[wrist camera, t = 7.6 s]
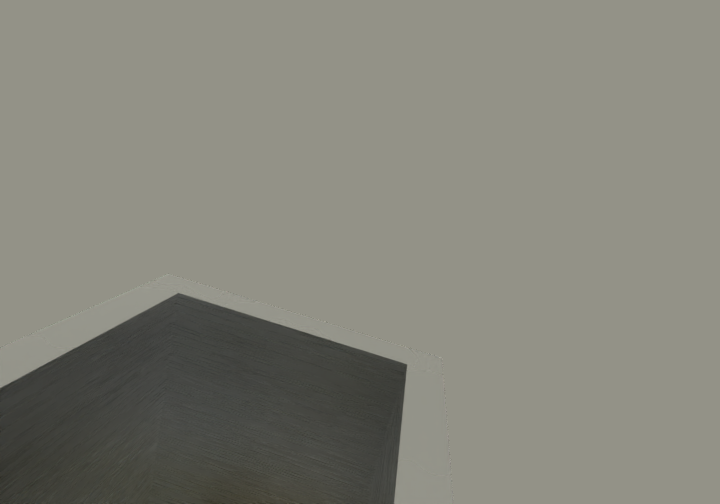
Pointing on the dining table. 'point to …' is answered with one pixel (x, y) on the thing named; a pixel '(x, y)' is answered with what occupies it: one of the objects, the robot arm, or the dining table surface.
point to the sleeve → (217, 407)
